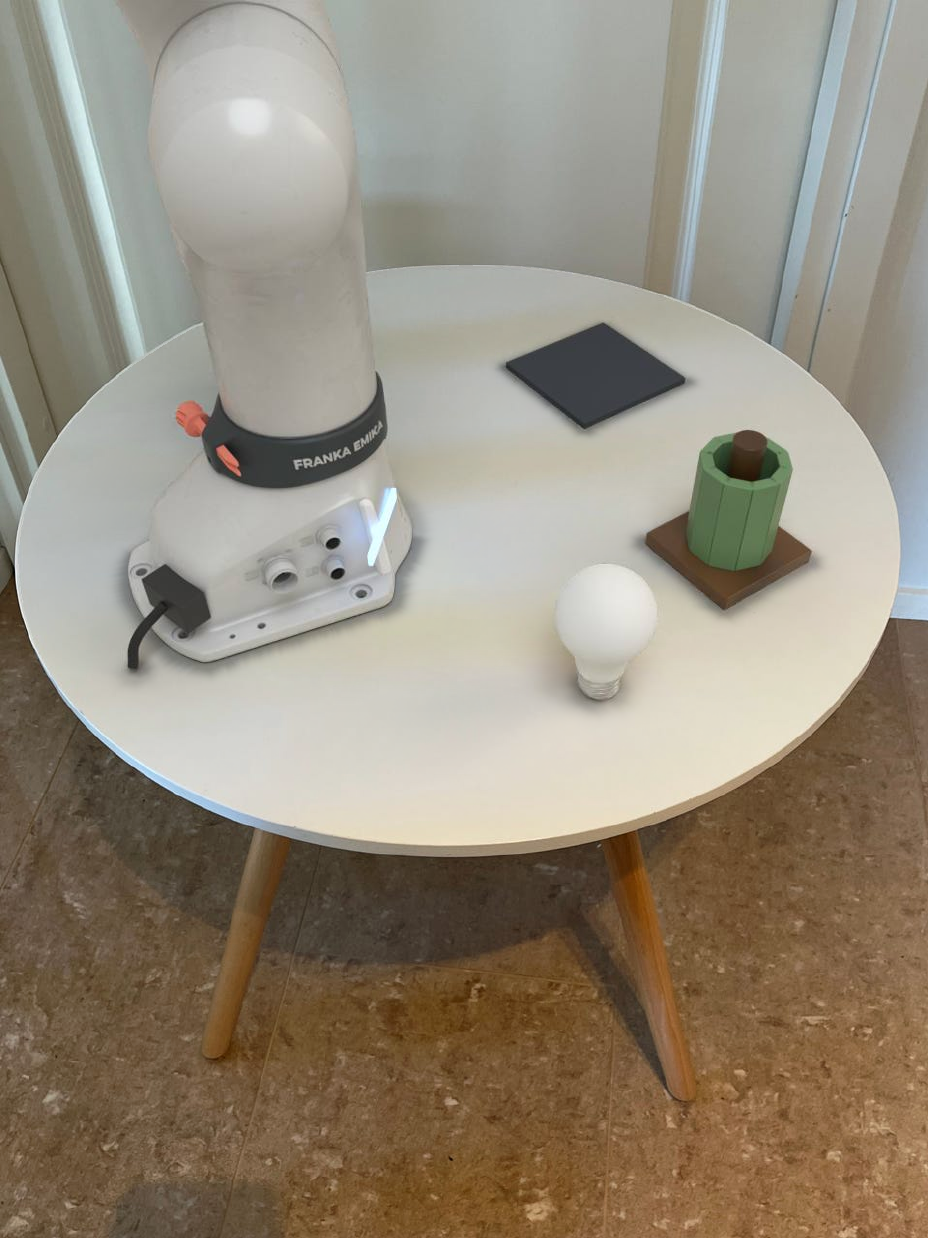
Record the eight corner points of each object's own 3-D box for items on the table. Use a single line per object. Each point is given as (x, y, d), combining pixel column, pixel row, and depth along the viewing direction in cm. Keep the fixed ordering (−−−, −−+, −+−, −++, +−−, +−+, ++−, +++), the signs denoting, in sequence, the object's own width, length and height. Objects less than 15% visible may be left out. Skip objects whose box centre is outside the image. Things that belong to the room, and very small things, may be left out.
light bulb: (641, 735, 71) (659, 624, 63) (543, 720, 72) (548, 609, 64) (649, 661, 76) (667, 548, 67) (557, 648, 77) (563, 536, 69)
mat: (584, 429, 94) (584, 423, 94) (505, 367, 101) (505, 362, 101) (685, 383, 99) (685, 377, 98) (603, 327, 106) (603, 321, 105)
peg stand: (724, 610, 79) (749, 497, 71) (644, 543, 84) (659, 431, 76) (809, 561, 82) (843, 448, 74) (727, 500, 87) (750, 388, 79)
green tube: (728, 583, 79) (746, 501, 73) (668, 534, 83) (681, 452, 77) (789, 548, 81) (811, 467, 76) (728, 502, 85) (745, 421, 79)
